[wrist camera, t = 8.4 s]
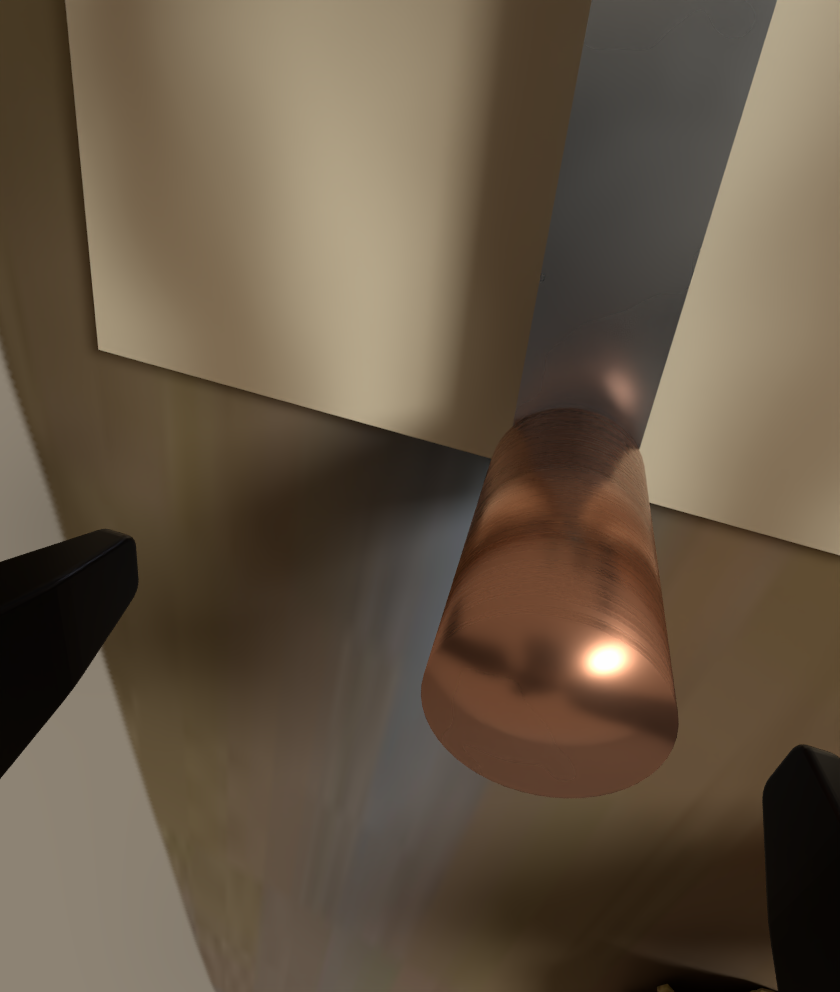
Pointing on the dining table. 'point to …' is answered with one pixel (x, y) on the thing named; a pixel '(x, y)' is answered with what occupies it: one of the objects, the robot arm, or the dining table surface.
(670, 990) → the rock
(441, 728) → the lever
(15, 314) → the dining table surface
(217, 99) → the base
